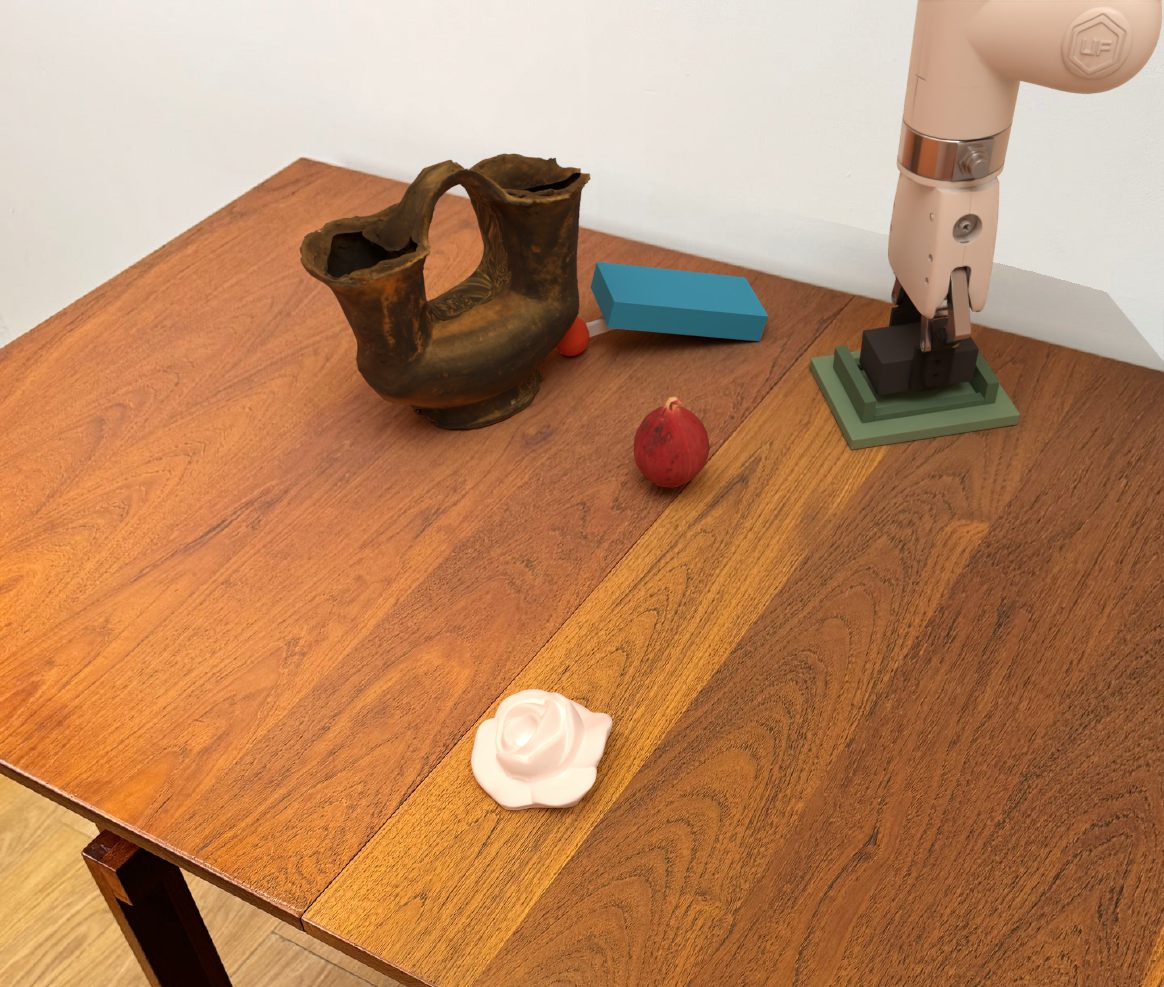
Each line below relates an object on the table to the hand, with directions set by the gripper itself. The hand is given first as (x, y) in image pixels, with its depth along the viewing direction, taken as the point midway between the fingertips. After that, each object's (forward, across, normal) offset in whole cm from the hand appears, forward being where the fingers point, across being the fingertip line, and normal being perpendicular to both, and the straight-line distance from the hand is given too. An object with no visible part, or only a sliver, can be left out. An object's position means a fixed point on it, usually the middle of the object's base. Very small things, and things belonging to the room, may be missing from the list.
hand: (916, 367), depth 103 cm
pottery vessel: (+3, +9, +36) cm, 37 cm away
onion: (+3, -7, +22) cm, 23 cm away
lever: (+3, +14, +19) cm, 24 cm away
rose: (+3, -33, +36) cm, 49 cm away
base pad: (+3, 0, 0) cm, 3 cm away
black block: (0, 0, 0) cm, 0 cm away
